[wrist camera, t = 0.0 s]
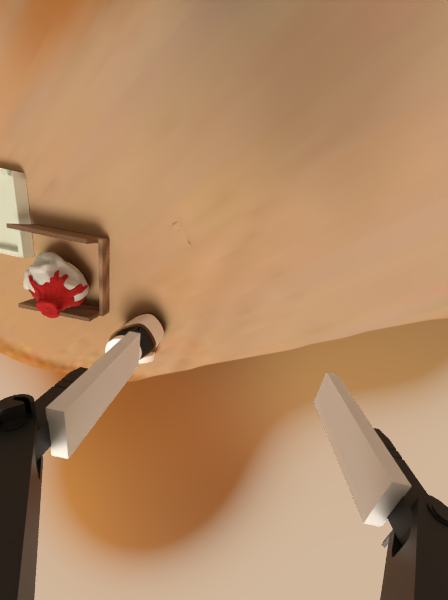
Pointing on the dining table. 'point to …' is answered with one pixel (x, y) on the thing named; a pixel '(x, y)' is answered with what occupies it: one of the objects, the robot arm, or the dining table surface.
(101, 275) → the walnut holder
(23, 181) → the sage tray
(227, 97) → the dining table surface
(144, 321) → the spread jar
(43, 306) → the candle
